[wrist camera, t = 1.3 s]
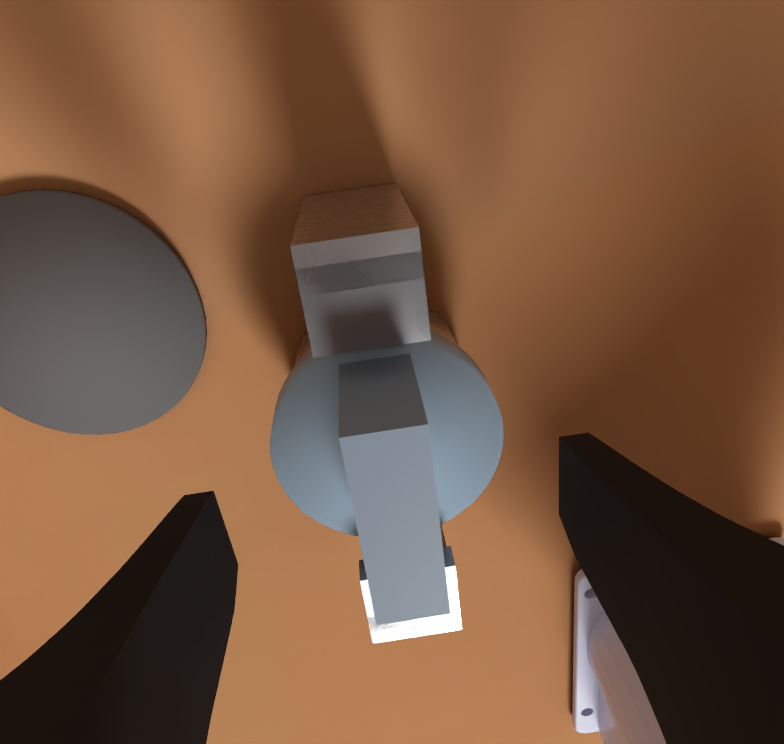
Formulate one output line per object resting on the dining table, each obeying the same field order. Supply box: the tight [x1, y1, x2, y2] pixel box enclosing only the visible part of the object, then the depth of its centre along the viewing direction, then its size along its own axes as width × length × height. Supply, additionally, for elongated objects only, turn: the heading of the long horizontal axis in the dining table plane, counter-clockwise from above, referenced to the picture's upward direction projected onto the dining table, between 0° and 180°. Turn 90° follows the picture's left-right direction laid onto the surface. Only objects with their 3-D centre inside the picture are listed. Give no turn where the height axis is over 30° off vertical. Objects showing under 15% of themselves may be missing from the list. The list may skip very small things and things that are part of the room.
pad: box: [0, 190, 207, 435], centre depth 16 cm, size 7×7×1 cm
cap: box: [270, 331, 504, 625], centre depth 13 cm, size 8×6×4 cm
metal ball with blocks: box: [290, 183, 462, 644], centre depth 16 cm, size 11×5×5 cm, turn 7°
